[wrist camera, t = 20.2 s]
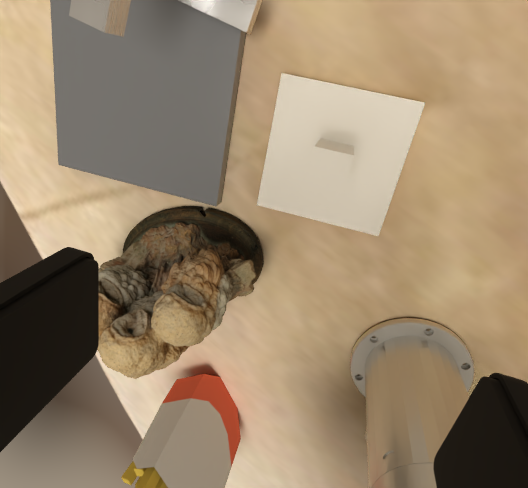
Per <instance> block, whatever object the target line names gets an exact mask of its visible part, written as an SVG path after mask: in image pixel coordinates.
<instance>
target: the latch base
mask: <svg viewBox="0 0 528 488" xmlns="http://www.w3.org/2000/svg"><path fill="white" fill-rule="evenodd" d="M50 2H51V22H52V42H53V63H54V83H55V103H56V123H57V143H58V163H59V165H61V166H65V167H69V168H73V169H77V170H80V171H84V172H88V173H92V174H96V175H99V176H103V177H107V178H111V179H114V180H118V181H122V182H126V183H130V184H133V185H137V186H141V187H145V188H149V189H152V190H156V191H160V192H164V193H168V194H171V195H175V196H179V197H183V198H187V199H190V200H194V201H198V202H202V203H206V204H209V205H213V206H217V205H218V204H220V203H221V200H222V193H223V186H224V180H225V173H226V166H227V159H228V152H229V145H230V139H231V132H232V125H233V118H234V111H235V105H236V98H237V91H238V84H239V77H240V70H241V64H242V57H243V50H244V43H245V36H246V32H244V31H242V30H240V29H238V28H236V27H233V26H231V25H229V24H227V23H225V22H223V21H221V20H219V19H216V18H214V17H212V16H210V15H208V14H206V13H204V12H202V11H199V10H197V9H195V8H193V7H191V6H189V5H187V4H185V3H182V2H180V1H178V0H131V3H130V8H129V13H128V18H127V23H126V27H125V32H124V37H122V36H118V35H113V34H109V33H104V32H102V31H100V30H98V29H96V28H94V27H92V26H90V25H88V24H86V23H84V22H81V21H79V20H77V19H75V18H73V17H71V16H69V13H70V5H71V0H50Z"/></svg>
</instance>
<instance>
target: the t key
mask: <svg viewBox="0 0 528 488" xmlns="http://www.w3.org/2000/svg"><path fill="white" fill-rule="evenodd" d="M178 1H180V2H182V3H185V4H187V5H189V6H191V7H193V8H195V9H197V10H199V11H202V12H204V13H206V14H208V15H210V16H212V17H214V18H216V19H219V20H221V21H223V22H225V23H227V24H229V25H231V26H233V27H236V28H238V29H240V30H242V31H244V32H246V33H248V34H250V35H251V32H252V29H253V26H254V23H255V21H256V18H257V15H258V12H259V9H260V6H261V3H262V0H178ZM130 3H131V0H71V5H70V13H69V16H71V17H73V18H75V19H77V20H79V21H81V22H84V23H86V24H88V25H90V26H92V27H94V28H96V29H98V30H100V31H102V32H104V33H109V34H113V35H118V36H122V37H124V32H125V27H126V23H127V18H128V13H129V8H130Z"/></svg>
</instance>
